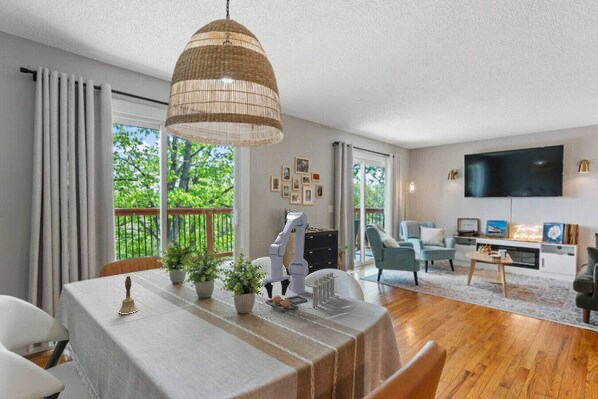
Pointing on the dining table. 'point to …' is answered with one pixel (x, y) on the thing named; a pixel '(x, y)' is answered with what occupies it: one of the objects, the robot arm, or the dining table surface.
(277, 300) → the terracotta ball
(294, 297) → the shallow grey square tray
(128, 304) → the hand bell
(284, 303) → the ball
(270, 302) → the pair tray
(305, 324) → the dining table surface
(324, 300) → the test tube rack
